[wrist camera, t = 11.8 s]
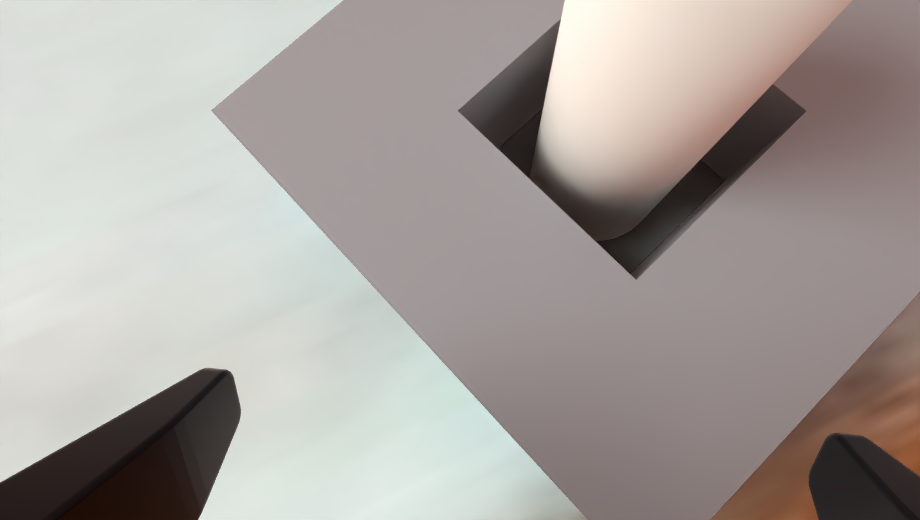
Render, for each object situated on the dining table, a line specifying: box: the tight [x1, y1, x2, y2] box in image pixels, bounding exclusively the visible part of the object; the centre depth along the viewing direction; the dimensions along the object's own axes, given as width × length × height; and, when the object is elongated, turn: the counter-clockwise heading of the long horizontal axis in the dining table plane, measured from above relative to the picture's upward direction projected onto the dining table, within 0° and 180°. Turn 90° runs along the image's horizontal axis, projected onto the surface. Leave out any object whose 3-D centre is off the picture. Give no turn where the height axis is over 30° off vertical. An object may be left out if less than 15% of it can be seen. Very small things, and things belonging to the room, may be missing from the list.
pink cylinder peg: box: [530, 0, 853, 241], centre depth 13 cm, size 4×4×12 cm
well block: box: [211, 0, 920, 520], centre depth 17 cm, size 16×16×5 cm
